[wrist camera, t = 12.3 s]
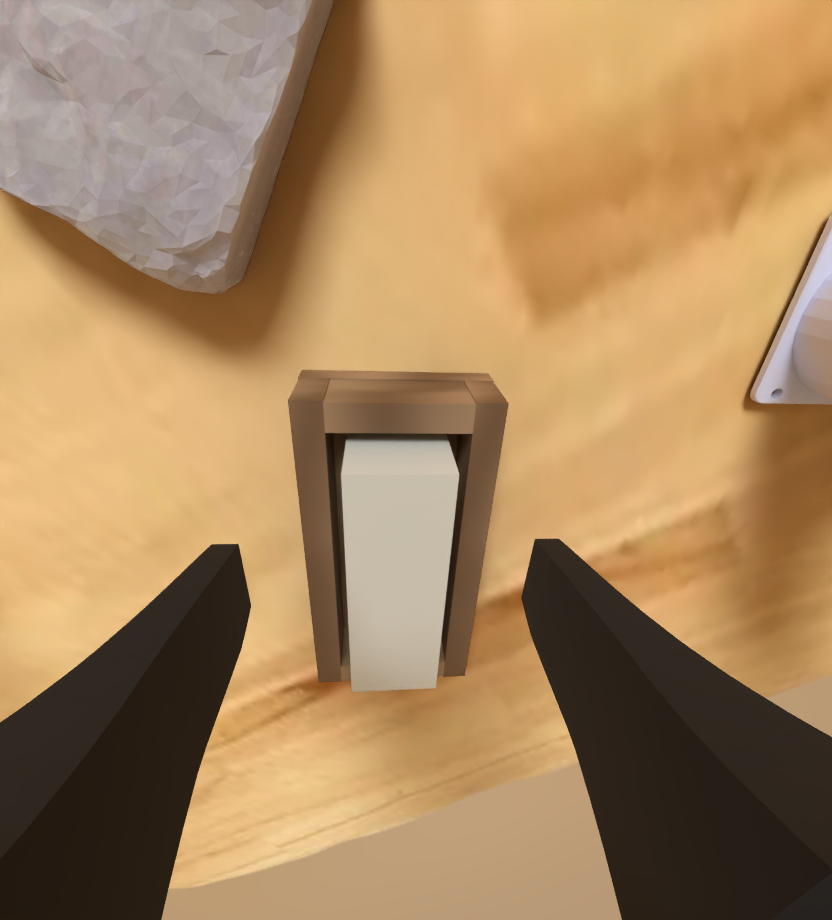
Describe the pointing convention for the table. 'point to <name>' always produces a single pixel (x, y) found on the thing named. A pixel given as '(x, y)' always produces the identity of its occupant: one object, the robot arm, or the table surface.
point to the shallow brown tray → (320, 489)
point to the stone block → (155, 122)
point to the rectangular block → (397, 555)
